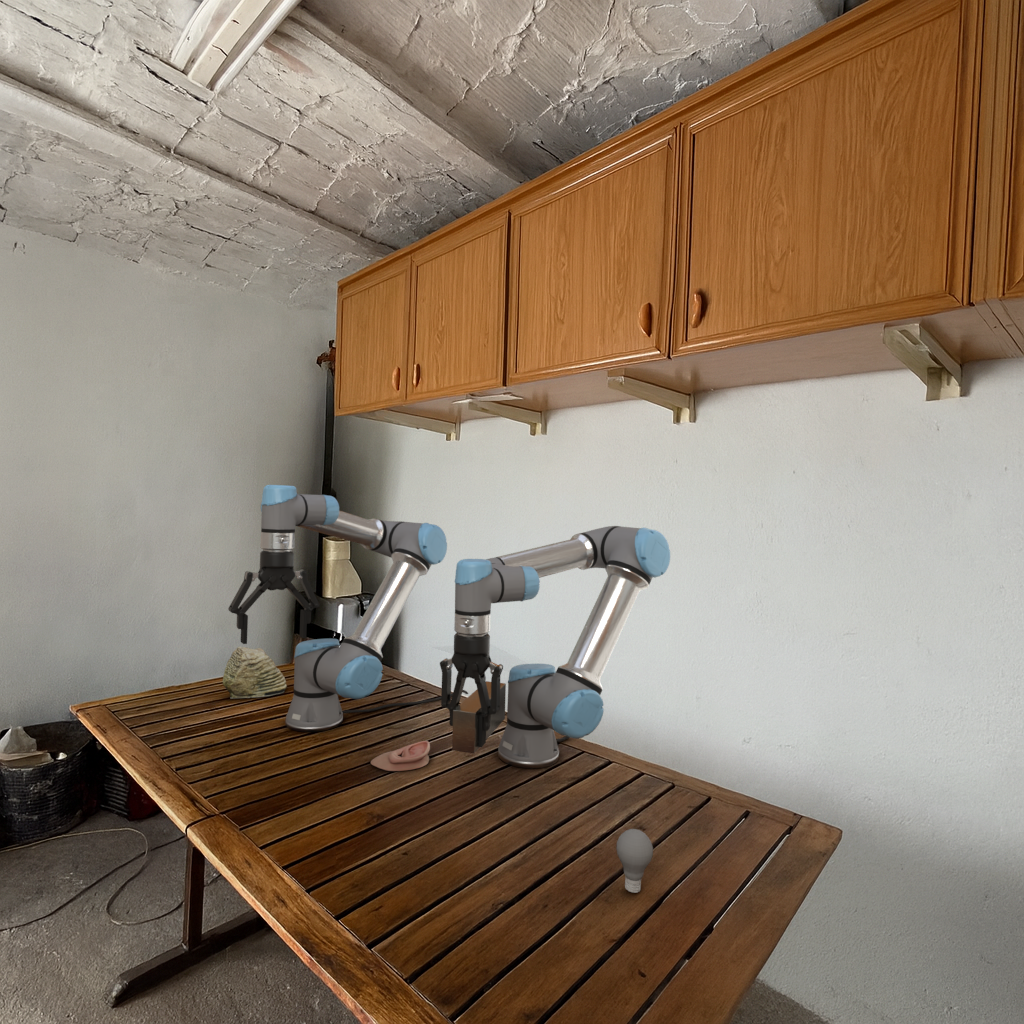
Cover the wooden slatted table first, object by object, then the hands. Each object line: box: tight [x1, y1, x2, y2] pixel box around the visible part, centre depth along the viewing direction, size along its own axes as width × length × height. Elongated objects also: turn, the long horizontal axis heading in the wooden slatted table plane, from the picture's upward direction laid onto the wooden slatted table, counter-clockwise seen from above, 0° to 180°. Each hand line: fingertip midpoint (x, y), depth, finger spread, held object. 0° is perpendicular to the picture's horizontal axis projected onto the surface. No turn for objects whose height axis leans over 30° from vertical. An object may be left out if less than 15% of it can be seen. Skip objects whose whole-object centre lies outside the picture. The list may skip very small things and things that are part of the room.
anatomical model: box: [370, 740, 431, 772], centre depth 153 cm, size 13×4×12 cm
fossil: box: [222, 646, 288, 699], centre depth 198 cm, size 9×18×15 cm, turn 132°
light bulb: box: [615, 828, 654, 894], centre depth 106 cm, size 6×6×10 cm
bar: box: [451, 680, 507, 755], centre depth 140 cm, size 21×5×8 cm, turn 164°
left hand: (274, 640), depth 150 cm, fingers open, 13 cm apart
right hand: (469, 742), depth 133 cm, fingers closed on bar, 5 cm apart
